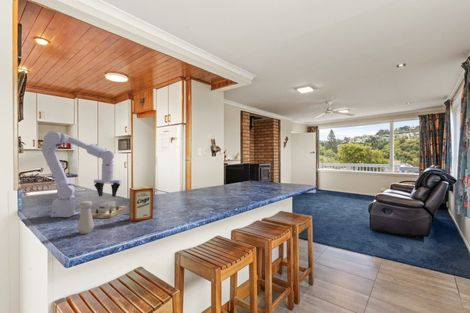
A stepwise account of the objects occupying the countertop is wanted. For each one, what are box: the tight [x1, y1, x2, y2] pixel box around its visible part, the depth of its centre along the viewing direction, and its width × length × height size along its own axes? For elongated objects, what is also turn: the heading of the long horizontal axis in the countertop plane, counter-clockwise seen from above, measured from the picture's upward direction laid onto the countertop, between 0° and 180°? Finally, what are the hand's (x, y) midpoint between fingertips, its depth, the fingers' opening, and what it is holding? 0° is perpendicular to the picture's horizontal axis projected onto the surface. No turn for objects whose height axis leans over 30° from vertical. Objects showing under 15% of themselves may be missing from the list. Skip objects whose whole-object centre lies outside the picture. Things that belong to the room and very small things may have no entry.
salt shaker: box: [77, 200, 95, 235], centre depth 93 cm, size 6×6×13 cm
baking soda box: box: [128, 186, 154, 223], centre depth 114 cm, size 10×6×16 cm
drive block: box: [97, 200, 116, 214], centre depth 122 cm, size 4×9×5 cm, turn 179°
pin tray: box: [91, 205, 128, 219], centre depth 122 cm, size 13×17×3 cm
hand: (107, 196), depth 126 cm, fingers open, 7 cm apart
